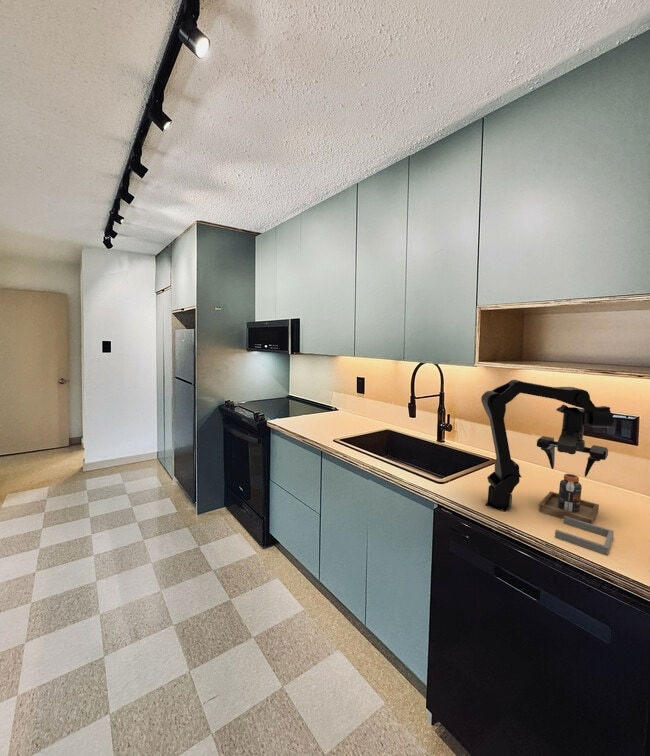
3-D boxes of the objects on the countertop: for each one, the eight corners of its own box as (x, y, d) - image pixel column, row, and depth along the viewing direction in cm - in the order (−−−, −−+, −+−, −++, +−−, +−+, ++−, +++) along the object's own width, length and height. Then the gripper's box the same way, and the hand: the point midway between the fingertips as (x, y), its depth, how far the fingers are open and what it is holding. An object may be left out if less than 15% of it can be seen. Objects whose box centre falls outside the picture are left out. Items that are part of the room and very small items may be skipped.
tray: (538, 511, 118) (539, 504, 118) (549, 498, 128) (550, 491, 128) (590, 527, 109) (591, 519, 108) (598, 511, 118) (599, 504, 118)
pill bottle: (574, 514, 114) (578, 480, 113) (554, 507, 119) (557, 474, 118) (582, 509, 118) (585, 476, 116) (562, 502, 122) (565, 470, 121)
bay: (554, 537, 103) (555, 530, 103) (564, 522, 112) (564, 515, 111) (607, 555, 95) (608, 548, 95) (613, 537, 103) (613, 530, 103)
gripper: (533, 425, 117) (529, 471, 119) (604, 437, 104) (599, 488, 106) (543, 419, 125) (539, 462, 127) (610, 430, 112) (605, 478, 114)
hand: (568, 472), depth 118 cm, fingers open, 9 cm apart
